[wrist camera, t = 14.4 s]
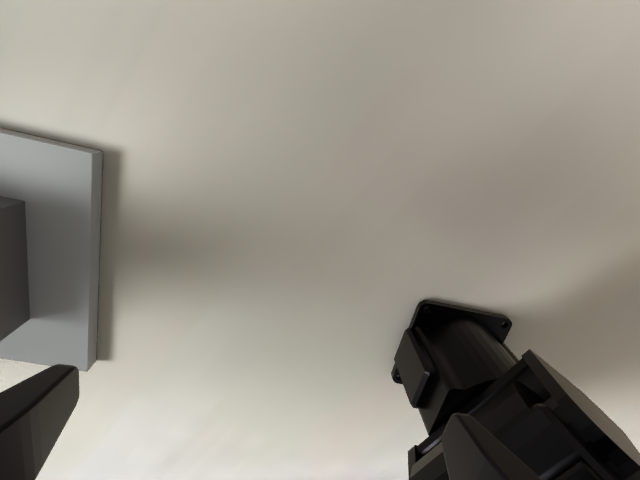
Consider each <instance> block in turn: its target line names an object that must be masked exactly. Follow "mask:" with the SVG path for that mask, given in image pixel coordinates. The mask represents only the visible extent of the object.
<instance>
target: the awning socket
mask: <svg viewBox="0 0 640 480" xmlns="http://www.w3.org/2000/svg"><path fill="white" fill-rule="evenodd" d="M102 161H103V151H99V150H94V149H90V148H86V147H81V146H77V145H72V144H68V143H64V142H59V141H55V140H50V139H46V138H42V137H37V136H33V135H29V134H24V133H20V132H15V131H11V130H7V129H2V128H0V358H2V359H9V360H15V361H22V362H28V363H35V364H41V365H48V366H53V365H56V364H65V365H73V366H76V367H77V368H78V370H80V371H88V370H89V369H90V368H91V367H92V365H93V364H94V363H95V362H96V348H97V317H98V286H99V254H100V223H101V192H102Z"/></svg>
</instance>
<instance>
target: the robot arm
mask: <svg viewBox="0 0 640 480" xmlns="http://www.w3.org/2000/svg"><path fill="white" fill-rule="evenodd" d="M424 307H428V309H426V310H423V308H424ZM503 322H505V323H504V324H503V325H501V324H502V323H503ZM511 326H512V322H511V321H510V319H509V318H508V317H506V316H504V315H499V314H494V313H489V312H484V311H479V310H474V309H469V308H464V307H459V306H454V305H449V304H444V303H439V302H434V301H429V300H423V301H421V302H419V304H418V305H417V308H416V310H415V313H414V315H413V318H412V321H411V323H410V326H409V328H407V329H406V330H405V332H404V335H403V337H402V340H401V342H400V345H399V348H398V350H397V353H396V355H395V358H394V360H395V365H394V367H393V370H392V373H391V375H392V378H393V381H394V382H395V383H399V384H403V385H404V388H405V390H406V393H407V396H408V399H409V401H410V404H411V405H412V407H413V408H418V409H419V412H420V414H421V417H422V419H423V422H424V425H425V427H426V430H427V432H428V435H429V437H428V438H426V439H425V440H424V441H423V442H422V443H420V444H419V445H418V446H417V445H415V446H414V447H412V448H411V449H410V450H409V451H408V469H409V480H640V453H639V452H638V450H637V449H636V448H635V446H634V445H633V444H632V442H631V441H630V440H629V438H628V437H627V436H626V434H625V433H624V432H623V431H622V430H621V429H620V428H619V427H618V426H617V425H616V424H615V423H614V422H613V421H612V420H611V419H610V418H609V417H608V416H607V415H606V414H605V413H604V412H603V411H602V410H601V409H600V408H599V407H598V406H597V405H595V404H594V403H593V402H592V401H591V400H590V399H589V398H588V397H587V396H586V395H585V394H584V393H583V392H582V391H580V390H579V389H578V388H577V387H576V386H574V385H573V384H572V383H571V382H570V381H568V380H567V379H566V378H565V377H563V376H562V375H561V374H560V373H559V372H557V371H556V370H555V369H554V368H552V367H551V366H550V365H549V364H548V363H546V362H545V361H544V360H543V359H541V358H540V357H539V356H538V355H537V354H535V353H534V352H533V351H532V350H530V349H529V350H528V351H527V352H525V353H524V354H523V355H522V359H521V360H518V359H517V358H516V356H515V355H514V354H513V353H512V352H511V351H510V350H509V348H508V347H507V346H506V345H505V344H504V343H503V342H504V340H505V338H506V336H507V334H508V332H509V330H510V328H511ZM397 375H400V376H397ZM78 399H79V370H78V368H77V367H76V366H73V365H65V364H56V365H53V366H51V367H49V368H47V369H45V370H43V371H42V372H40V373H38V374H36V375H34V376H32V377H30V378H28V379H26V380H24V381H22V382H20V383H18V384H16V385H14V386H12V387H11V388H9V389H7V390H5V391H3V392H1V393H0V480H35V479H36V477H37V475H38V474H39V472H40V470H41V468H42V467H43V465H44V463H45V461H46V459H47V458H48V456H49V454H50V452H51V450H52V448H53V447H54V445H55V443H56V441H57V439H58V437H59V436H60V434H61V432H62V430H63V428H64V426H65V425H66V423H67V421H68V419H69V417H70V416H71V414H72V412H73V410H74V408H75V406H76V404H77V402H78Z"/></svg>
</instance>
